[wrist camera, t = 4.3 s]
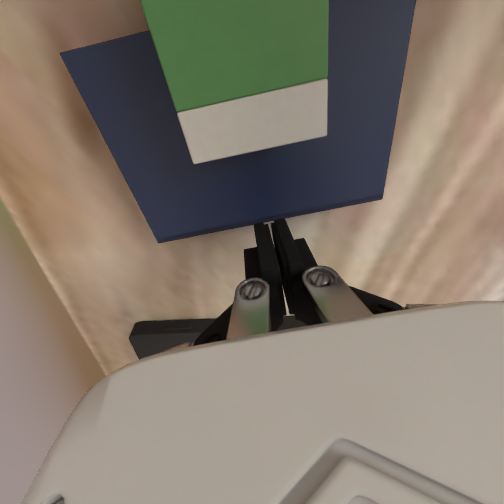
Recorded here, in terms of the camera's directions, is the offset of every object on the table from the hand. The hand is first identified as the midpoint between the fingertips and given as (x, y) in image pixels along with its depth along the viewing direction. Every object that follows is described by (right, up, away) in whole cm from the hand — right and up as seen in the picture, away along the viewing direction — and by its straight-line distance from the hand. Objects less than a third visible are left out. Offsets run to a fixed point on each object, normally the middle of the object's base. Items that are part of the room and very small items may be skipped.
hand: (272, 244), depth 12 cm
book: (-1, +7, +1) cm, 7 cm away
